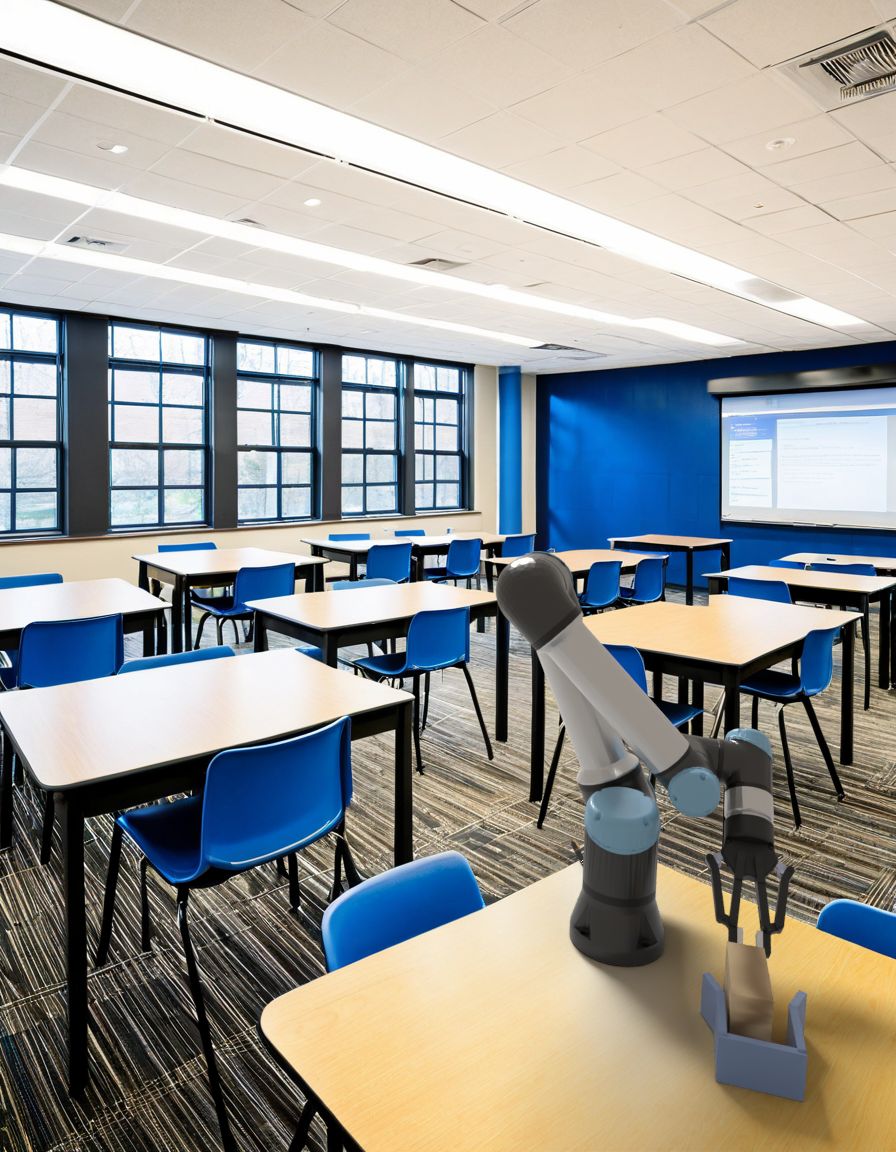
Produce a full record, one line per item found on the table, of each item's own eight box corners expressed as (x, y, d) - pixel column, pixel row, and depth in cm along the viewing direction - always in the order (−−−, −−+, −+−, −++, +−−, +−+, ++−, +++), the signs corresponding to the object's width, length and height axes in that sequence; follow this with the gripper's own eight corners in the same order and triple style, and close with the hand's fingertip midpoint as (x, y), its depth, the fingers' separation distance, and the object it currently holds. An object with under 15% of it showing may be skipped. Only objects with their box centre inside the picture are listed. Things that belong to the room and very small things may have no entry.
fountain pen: (593, 878, 145) (593, 871, 144) (587, 878, 145) (587, 871, 144) (574, 843, 159) (574, 836, 159) (568, 843, 159) (569, 836, 159)
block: (727, 1058, 99) (731, 993, 98) (722, 999, 111) (726, 941, 110) (768, 1067, 98) (774, 1001, 97) (759, 1007, 109) (764, 948, 108)
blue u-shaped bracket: (701, 1078, 95) (704, 1033, 95) (700, 1010, 108) (702, 971, 107) (818, 1105, 92) (822, 1059, 91) (803, 1032, 104) (806, 991, 103)
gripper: (795, 837, 125) (802, 995, 111) (698, 823, 129) (693, 974, 115) (802, 819, 119) (810, 983, 105) (701, 805, 124) (695, 961, 110)
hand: (749, 978), depth 110 cm, fingers open, 2 cm apart
